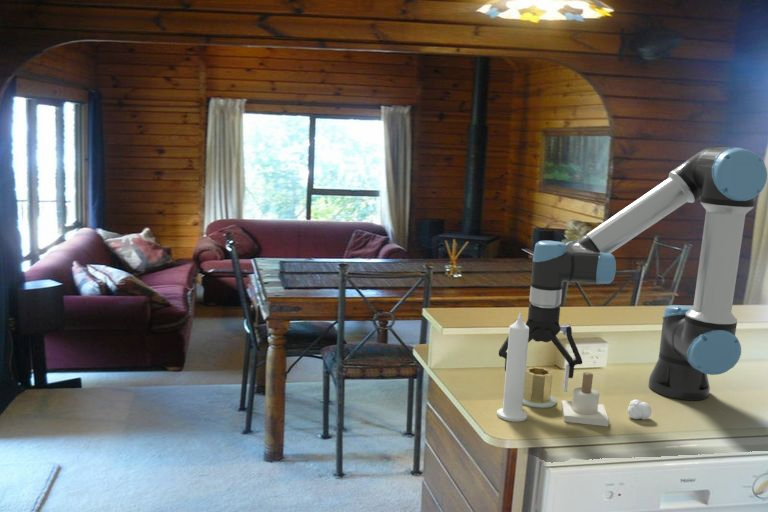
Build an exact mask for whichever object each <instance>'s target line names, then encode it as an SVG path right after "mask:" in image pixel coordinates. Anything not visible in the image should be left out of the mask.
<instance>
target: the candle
mask: <svg viewBox="0 0 768 512" xmlns="http://www.w3.org/2000/svg"><path fill="white" fill-rule="evenodd" d="M516 320H517V321H516V322H515V321H514V323H512V324H510V325H509V327H508V328H509V330H508V336H509V339H508V349H507V351H506V352H507V363H506V372H505V375H504V376H505V378H504V388H503V389H504V390H503V400H502V401H503V402H502V407H500V408H498V409H497V411H496V415H497V417H498V418H499V419H502V420H504V421H506V422H507V421H508V422H512V423H513V422H515V423H517V422H524V421H526V420H527V419H528V413H527V412H526V411H525V410H523V395H524V383H525V372H526V368H527V360H528V347H529V342H528V338H529V327H528V326H527V325H526V324H525V323H526V322H524V320H523V314H522V313H521V312H520V313H518V317H517V319H516Z"/></svg>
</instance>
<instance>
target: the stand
mask: <svg viewBox="0 0 768 512" xmlns="http://www.w3.org/2000/svg"><path fill="white" fill-rule="evenodd" d="M593 378H594V374H593V373H592V372H586V371H585V372H583V373H582V384H581V387H576V388H574V389H573V390H572V400H564V399H563V400H562V399H561V403H560V407H561V413H562V419H563V422H564V423H573V424H582V425H592V426H593V425H594V426H601V427H609V423H610V422H609V421H610V420H609V416H608V414H607V411H606V407H605V404H603V403H602V404H601V403H599V401H600V392H599V391H598V390H596V389H593V388H592V387H593Z"/></svg>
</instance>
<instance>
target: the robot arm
mask: <svg viewBox="0 0 768 512" xmlns="http://www.w3.org/2000/svg"><path fill="white" fill-rule="evenodd" d="M767 180H768V170H767V166H766V163H765V162H764V160H763V159H762V158H761V157H760V156H759V155H758V154H757V153H755V152H754V151H752V150H749V149H746V148H742V147H737V146H736V147H728V146H726V147H725V146H718V145H717V146H711V147H707V148H705V149H702V150H700V151H699V152H697V153H696V154H694V155H693V156H691V157H690V158H688V159H687V160H685V161H684V162H682V163H681V164H679V166H677V167H675V168H673V169H672V170H671V171H670V172H669V173H668V177H667V179H665V180H663V181H662V182H661V183H659V184H657V185H656V186H654V187H653V188H652V189H651V190H649V191H647V192H646V193H645V194H643V195H642V196H640V197H638V198H637V199H636V200H634V201H633V202H632V203H630V204H629V205H627V206H626V207H624V208H623V209H621V210H619V211H618V212H617V213H616V214H613V216H611V217H610V218H608V219H607V220H605V221H604V222H602V223H601V224H599V225H598V226H596V227H595V228H594V229H592V230H591V231H589V232H588V233H586V234H585V235H583V236H581V237H580V238H579V239H577V240H571V241H568V242H566V243H565V242H562V241H555V240H539V241H537V242H536V243H535V245H534V249H533V257H532V265H531V266H532V267H531V281H530V290H529V291H530V292H529V302H530V303H529V304H528V314H527V321H526V322H524V323H525V324H526V325H527V326H528V327H529V338H528V343H530V342H531V341H532V340H533V341H534V342H542V343H549V342H552V344H553V345H555V347H556V348H557V350H558V351H559V352H560V354H561V355H562V356H563V358H564V360H565V361H566V362H565V366H564V376H563V378H564V379H563V386H562V389H563V392H564V393H565V392H568V386H569V379H573V377H574V373H575V371H574V370H575V366H576V365H577V366H578V365H582V364H583V359H582V356H581V354H580V352H579V350H578V347H577V345H576V343H575V340H574V337H573V330H572V326H571V324H568V323H567V324H566V325H560V316H561V307H560V305H561V304H562V295H563V294H562V293H563V283H564V282H568V283H584V284H596V285H600V284H602V285H603V284H605V285H606V284H611V283H612V282H614V279H615V276H616V272H617V264H616V263H617V262H616V258H615V255H613V254H612V253H613V252H615V251H616V250H618V249H619V248H620V247H623V245H625V244H627V243H628V242H629V241H631V240H632V239H634V238H635V237H637V236H638V235H640V234H641V233H642V232H644V231H645V230H647V229H649V228H651V227H652V226H653V225H655V224H657V223H658V222H659V221H661V220H662V219H664V218H665V217H666V216H668V215H670V214H671V213H673V212H674V211H676V210H677V209H678V208H680V207H682V206H683V205H685V204H686V203H691V204H693V203H695V202H696V201H698V200H699V199H700V202H699V203H700V205H702V207H703V208H704V210H705V217H704V225H703V231H702V232H703V233H702V241H701V248H700V254H699V260H698V262H699V263H698V270H697V276H696V285H695V292H694V297H693V300H694V301H693V305H685V304H684V305H679V304H672V305H668V306H666V307H665V308H664V312H663V316H662V325H661V336H660V342H659V343H660V344H659V352H658V353H659V354H658V359H657V361H656V363H655V365H654V367H653V369H652V371H651V373H650V375H649V377H648V385H647V386H648V388H649V389H650V390H652V391H653V392H655V393H657V394H659V395H662V396H665V397H668V398H674V399H678V400H686V401H699V400H700V401H701V400H705V399H707V398H708V397H709V396H710V389H711V387H710V382H709V377H708V375H710V376H712V375H713V376H714V375H715V376H717V375H722V374H724V373H727V372H728V371H730V370H731V369H733V368H734V367H735V366H736V365H737V363H738V362H739V361H740V358H741V356H742V345H741V342H740V340H739V338H738V337H737V336H736V331H737V325H738V319H737V318H736V317H735V316H734V314H733V312H732V311H733V309H732V308H733V304H734V296H735V289H736V283H737V275H738V269H739V262H740V257H741V256H740V255H741V247H742V241H743V236H744V235H743V234H744V226H745V219H746V215H747V213H749V212H750V211H751V210H753V209H754V207H755V201H756V197H757V196H758V195H759V194H760V193H761V192H763V190H764V188H765V187H766V184H767ZM517 320H518V319H515V320H514V323H515V322H516V321H517ZM560 332H562V333H563V335H564V336H566V338H567V341H568V343H569V346H570V347H571V351H572V353H573V355H574V358H573V356H571V355H570V353H569V352H568V351H567V349H566V348H565V346H564V345H563V344H562V342H561V341H560V340H559V338H558V337H557V335H558V334H559V333H560ZM508 339H509V335H508V336H507V337H506V339H505V340H504V342H503V344H502V345H501V347H500V348H499V350H498V356H499V357H500V358H503V359H504V361H505V362H504V372H505V373H506V363H507V351H508Z"/></svg>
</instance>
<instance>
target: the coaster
mask: <svg viewBox="0 0 768 512" xmlns="http://www.w3.org/2000/svg"><path fill="white" fill-rule="evenodd" d="M557 402H558V400H557V398H556V397H555V396H554V395H552V394H551V397H550V402H547V403H532V402H529V401H527V400H525V399H523V405H524V406H525V407H530V408H536V409H547V408H548V409H549V408H553V407H555V406H556V405H557Z"/></svg>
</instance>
